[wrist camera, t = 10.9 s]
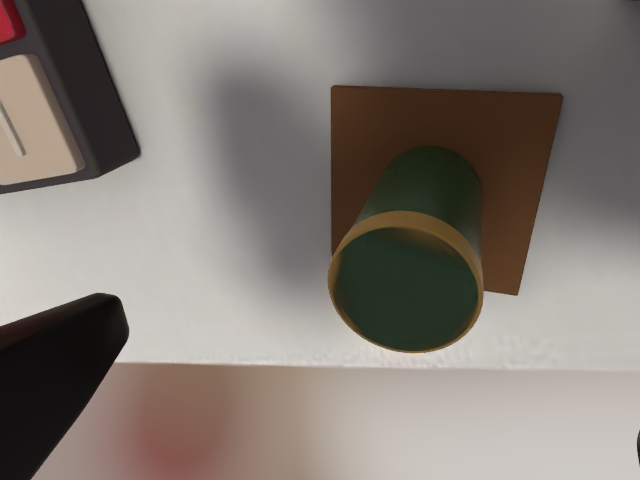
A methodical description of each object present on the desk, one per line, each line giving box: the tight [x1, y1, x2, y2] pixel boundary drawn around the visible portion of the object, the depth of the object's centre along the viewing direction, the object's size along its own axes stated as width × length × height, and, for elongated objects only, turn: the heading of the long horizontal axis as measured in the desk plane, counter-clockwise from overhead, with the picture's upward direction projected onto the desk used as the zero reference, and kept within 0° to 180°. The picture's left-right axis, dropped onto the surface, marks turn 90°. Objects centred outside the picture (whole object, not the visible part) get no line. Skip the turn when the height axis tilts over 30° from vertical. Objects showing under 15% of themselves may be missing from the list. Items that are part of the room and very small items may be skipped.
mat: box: [331, 85, 563, 296], centre depth 18 cm, size 8×8×1 cm
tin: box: [328, 146, 483, 353], centre depth 15 cm, size 4×4×7 cm
